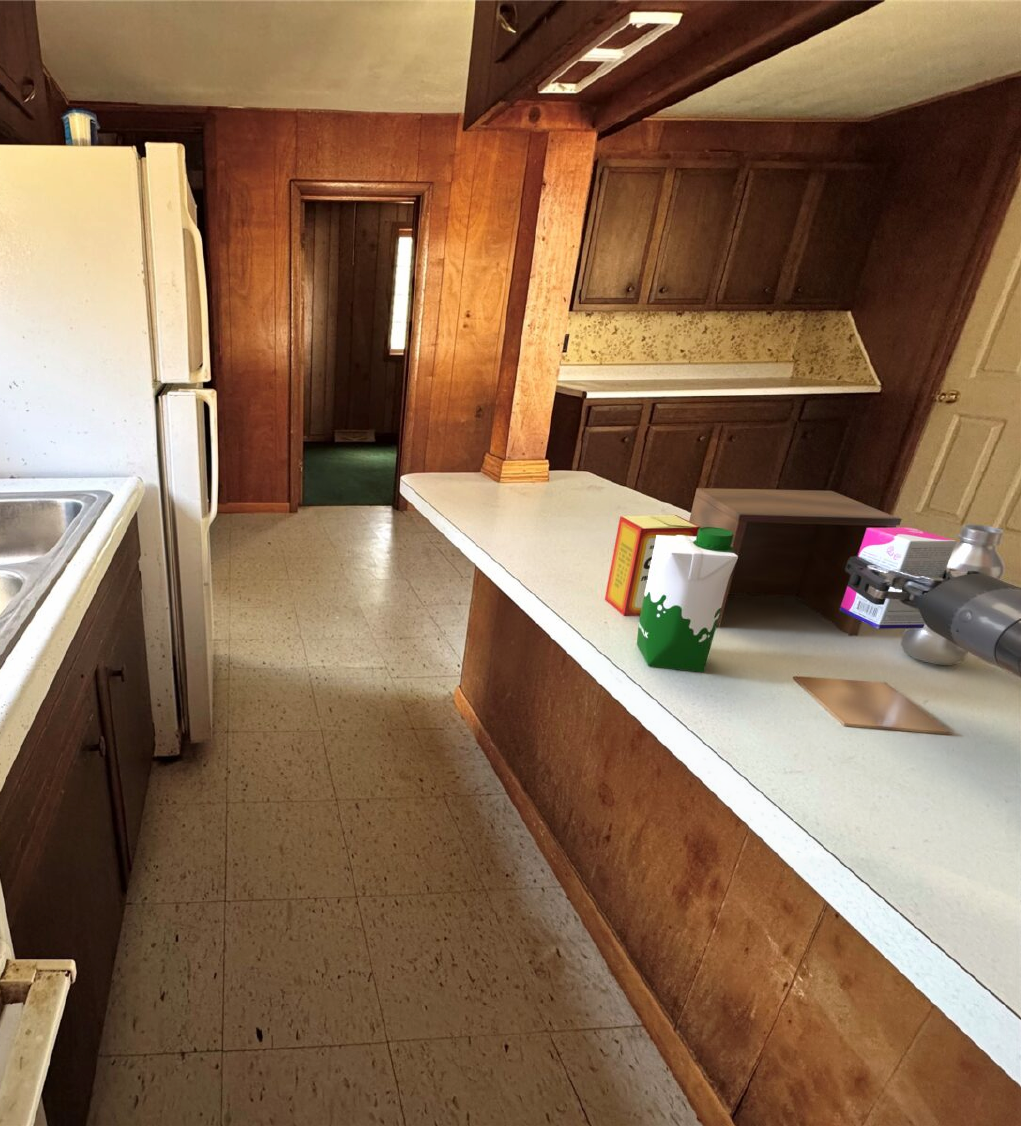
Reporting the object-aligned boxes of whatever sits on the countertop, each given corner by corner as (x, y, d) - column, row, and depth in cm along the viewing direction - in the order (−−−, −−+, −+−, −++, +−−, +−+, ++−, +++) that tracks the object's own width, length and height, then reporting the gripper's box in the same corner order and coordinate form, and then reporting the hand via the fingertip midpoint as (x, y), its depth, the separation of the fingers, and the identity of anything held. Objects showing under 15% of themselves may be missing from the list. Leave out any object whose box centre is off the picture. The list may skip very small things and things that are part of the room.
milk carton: (713, 676, 87) (749, 543, 80) (641, 668, 90) (669, 538, 82) (693, 646, 95) (724, 522, 87) (627, 640, 97) (652, 519, 90)
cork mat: (885, 684, 84) (886, 682, 84) (950, 734, 74) (951, 732, 74) (792, 678, 86) (793, 675, 86) (843, 725, 76) (844, 723, 76)
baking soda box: (623, 615, 105) (641, 526, 99) (604, 599, 111) (620, 514, 105) (679, 614, 105) (701, 524, 99) (657, 598, 111) (676, 512, 105)
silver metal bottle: (897, 643, 94) (946, 517, 87) (962, 658, 89) (1019, 527, 82) (894, 659, 90) (946, 528, 82) (962, 676, 85) (1023, 540, 78)
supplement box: (926, 628, 76) (960, 540, 72) (876, 630, 76) (907, 541, 72) (882, 608, 81) (911, 525, 77) (836, 609, 81) (863, 526, 77)
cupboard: (859, 636, 96) (902, 518, 89) (710, 627, 100) (739, 514, 93) (800, 594, 111) (833, 490, 104) (672, 588, 115) (695, 487, 108)
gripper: (903, 650, 66) (809, 588, 81) (1069, 660, 63) (940, 594, 78) (928, 586, 63) (826, 534, 78) (1103, 593, 60) (962, 538, 76)
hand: (883, 564), depth 78 cm, fingers closed on supplement box, 6 cm apart
